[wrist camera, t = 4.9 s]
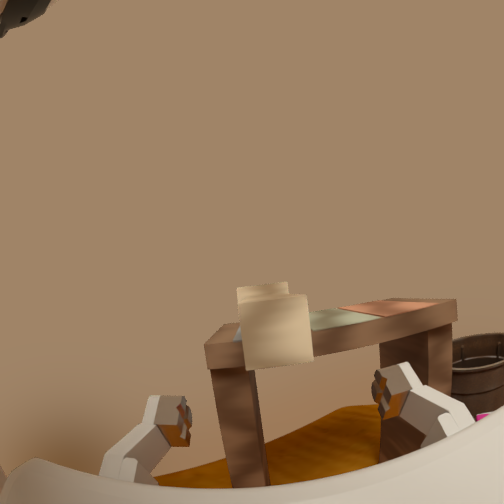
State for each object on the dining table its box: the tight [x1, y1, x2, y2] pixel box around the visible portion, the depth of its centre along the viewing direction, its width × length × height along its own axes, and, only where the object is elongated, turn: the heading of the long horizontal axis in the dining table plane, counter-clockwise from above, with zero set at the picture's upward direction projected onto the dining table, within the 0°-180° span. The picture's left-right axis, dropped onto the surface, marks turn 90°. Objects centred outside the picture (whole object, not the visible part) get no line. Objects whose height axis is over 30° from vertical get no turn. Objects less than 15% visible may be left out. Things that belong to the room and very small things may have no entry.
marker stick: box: [237, 282, 314, 371], centre depth 23 cm, size 5×21×4 cm, turn 179°
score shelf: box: [204, 298, 458, 488], centre depth 26 cm, size 22×14×26 cm, turn 89°
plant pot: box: [451, 333, 504, 421], centre depth 29 cm, size 16×16×16 cm
